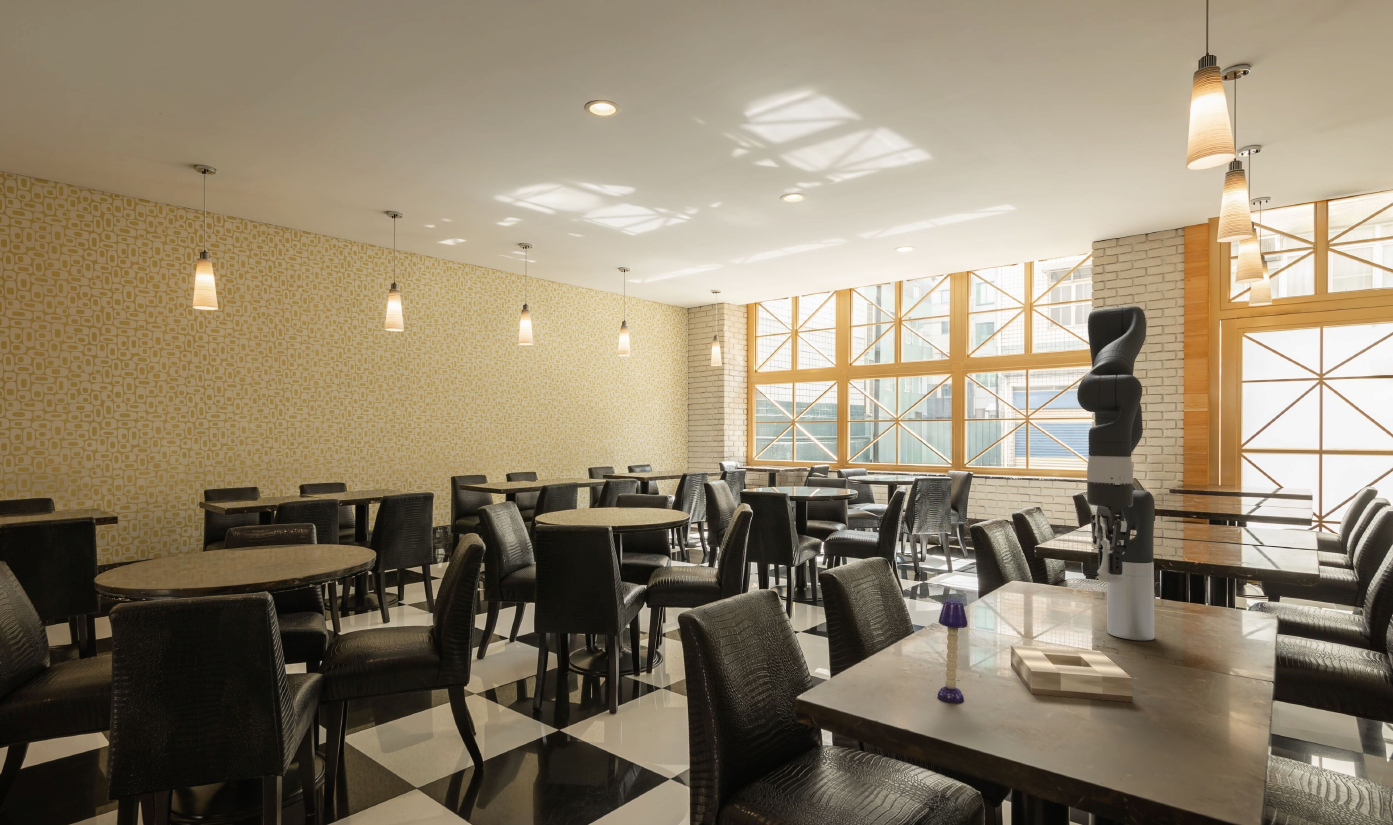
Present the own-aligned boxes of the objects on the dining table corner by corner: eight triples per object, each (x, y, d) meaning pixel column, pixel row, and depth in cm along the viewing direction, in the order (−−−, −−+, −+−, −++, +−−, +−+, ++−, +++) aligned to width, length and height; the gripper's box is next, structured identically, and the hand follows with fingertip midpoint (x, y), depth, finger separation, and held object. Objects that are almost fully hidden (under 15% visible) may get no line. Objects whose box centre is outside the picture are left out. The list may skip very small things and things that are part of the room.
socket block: (1010, 665, 140) (1010, 644, 140) (1099, 672, 136) (1099, 650, 137) (1031, 693, 124) (1031, 670, 124) (1132, 702, 121) (1132, 678, 121)
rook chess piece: (1128, 583, 130) (1128, 540, 131) (1101, 582, 131) (1101, 538, 132) (1118, 579, 135) (1118, 537, 135) (1093, 578, 136) (1092, 536, 136)
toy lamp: (967, 696, 122) (966, 599, 123) (967, 705, 118) (967, 604, 119) (937, 692, 124) (937, 596, 125) (937, 702, 120) (937, 602, 120)
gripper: (1075, 478, 142) (1075, 565, 141) (1102, 481, 128) (1102, 577, 127) (1116, 479, 140) (1117, 567, 139) (1148, 483, 126) (1148, 580, 125)
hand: (1110, 571), depth 133 cm, fingers closed on rook chess piece, 4 cm apart
